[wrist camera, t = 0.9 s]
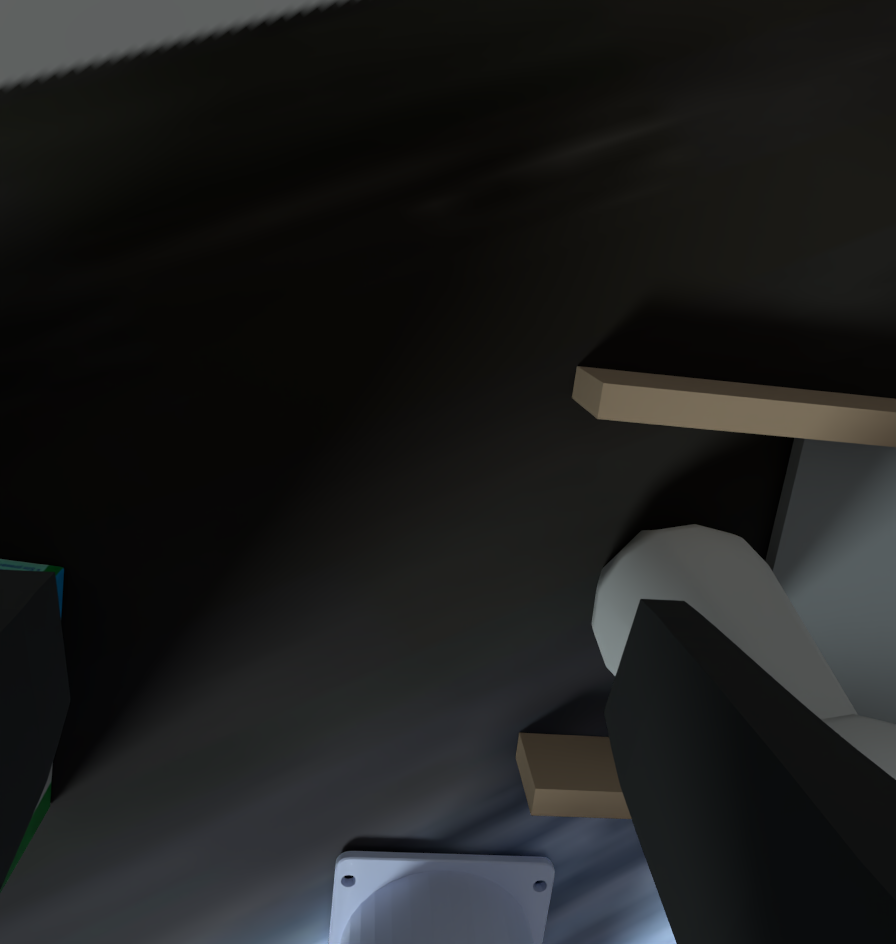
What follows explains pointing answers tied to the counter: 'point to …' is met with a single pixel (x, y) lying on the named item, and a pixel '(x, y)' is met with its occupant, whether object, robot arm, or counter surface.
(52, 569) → the milk carton
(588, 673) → the counter surface
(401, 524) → the counter surface
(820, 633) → the tan u-shaped piece
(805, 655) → the salt shaker
